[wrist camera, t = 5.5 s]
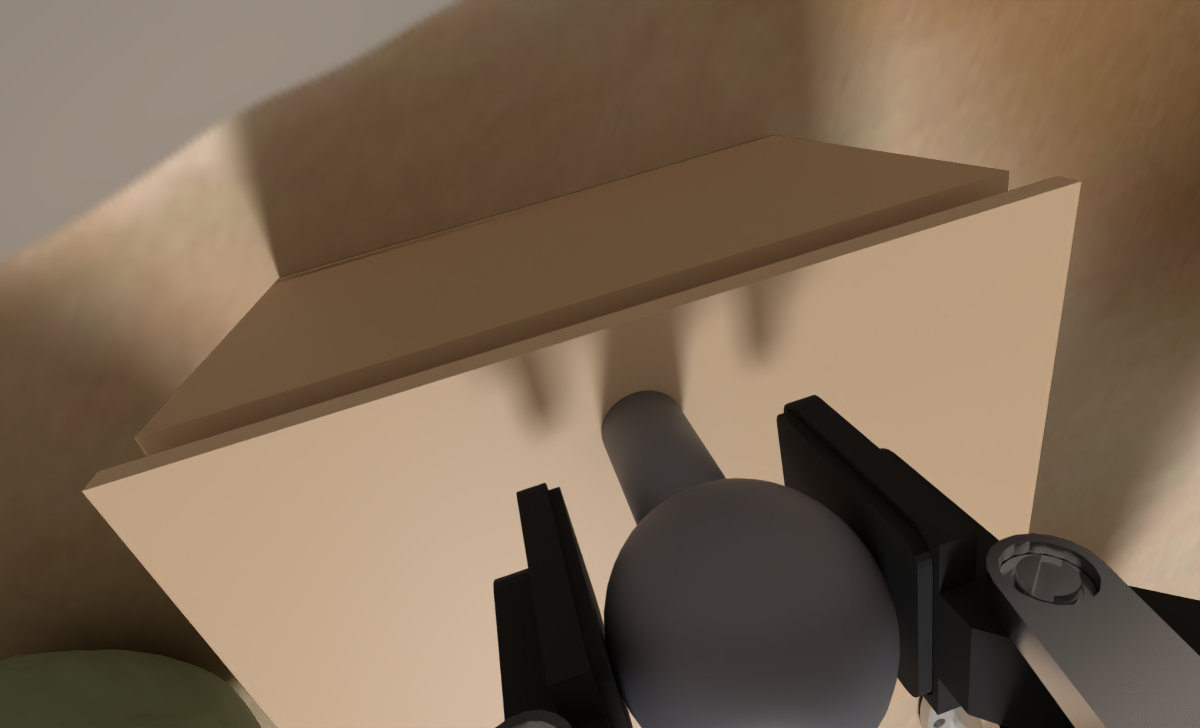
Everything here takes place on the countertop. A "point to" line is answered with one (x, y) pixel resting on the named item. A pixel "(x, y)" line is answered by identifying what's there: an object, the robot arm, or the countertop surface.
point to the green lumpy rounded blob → (115, 692)
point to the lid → (623, 488)
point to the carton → (549, 272)
